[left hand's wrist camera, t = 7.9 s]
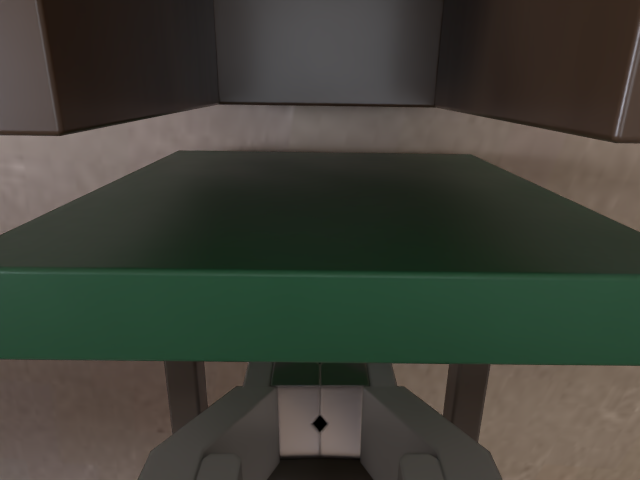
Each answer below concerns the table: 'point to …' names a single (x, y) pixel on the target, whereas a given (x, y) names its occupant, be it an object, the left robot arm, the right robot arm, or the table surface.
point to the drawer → (322, 194)
